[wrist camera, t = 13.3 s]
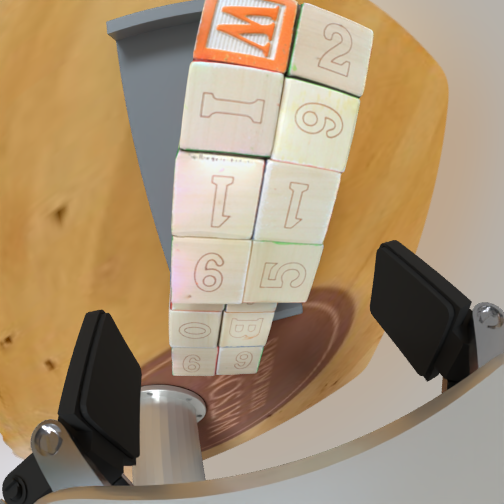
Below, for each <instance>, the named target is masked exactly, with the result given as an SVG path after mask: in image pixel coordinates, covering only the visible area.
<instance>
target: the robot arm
mask: <svg viewBox="0 0 504 504" xmlns="http://www.w3.org/2000/svg"><path fill="white" fill-rule="evenodd" d="M470 305H471V301H470V300H469V299H468V298H467V297H466V296H465V295H463V294H462V293H461V292H460V291H459V290H458V289H457V288H456V287H454V286H453V285H452V284H451V283H450V282H448V281H447V280H446V279H445V278H444V277H443V276H441V275H440V274H439V273H438V272H437V271H435V270H434V269H433V268H431V267H430V266H429V265H428V264H427V263H425V262H424V261H423V260H422V259H420V258H419V257H418V256H417V255H415V254H414V253H413V252H411V251H410V250H409V249H407V248H406V247H405V246H404V245H402V244H401V243H400V242H398V241H396V240H393V241H389V242H386V243H382V244H381V245H380V248H379V249H378V250H377V253H376V263H375V272H374V280H373V288H372V295H371V302H370V311H371V314H372V315H373V317H374V318H375V319H376V320H377V322H378V323H379V324H380V325H381V327H382V328H383V329H384V330H385V332H386V333H387V334H388V335H389V337H390V338H391V339H392V341H393V342H394V343H395V344H396V346H397V347H398V348H399V349H400V351H401V352H402V353H403V355H404V356H405V357H406V358H407V360H408V361H409V362H410V364H411V365H412V366H413V368H414V369H415V370H416V372H417V373H418V374H419V375H420V376H424V378H425V379H426V380H427V381H429V380H431V379H433V378H435V377H436V376H437V375H438V374H439V373H440V374H441V375H442V376H443V380H442V394H441V395H439V396H438V397H436V398H434V399H433V400H431V401H429V402H428V403H426V404H424V405H423V406H421V407H419V408H418V409H416V410H414V411H413V412H411V413H409V414H407V415H405V416H403V417H401V418H400V419H398V420H396V421H394V422H392V423H390V424H388V425H386V426H384V427H382V428H380V429H378V430H375V431H373V432H371V433H369V434H367V435H365V436H362V437H360V438H357V439H355V440H353V441H350V442H348V443H345V444H343V445H341V446H338V447H335V448H333V449H330V450H327V451H325V452H322V453H319V454H316V455H313V456H310V457H307V458H304V459H301V460H298V461H294V462H291V463H287V464H283V465H280V466H277V467H273V468H268V469H264V470H260V471H256V472H251V473H247V474H242V475H236V476H231V477H225V478H219V479H213V480H205V474H204V468H203V462H202V455H201V448H200V441H199V433H198V426H197V422H199V421H200V420H201V419H202V418H203V417H204V416H205V414H206V407H205V403H204V401H203V399H202V398H201V397H200V396H198V395H197V394H195V393H194V392H192V391H189V390H187V389H184V388H180V387H176V386H170V385H147V386H142V387H141V376H142V374H141V368H140V366H139V364H138V362H137V361H136V359H135V357H134V356H133V354H132V352H131V351H130V349H129V347H128V346H127V344H126V342H125V340H124V339H123V337H122V335H121V333H120V331H119V330H118V328H117V326H116V324H115V322H114V320H113V319H112V317H111V315H110V314H109V313H105V312H104V311H103V310H97V311H92V312H88V313H86V315H85V318H84V321H83V324H82V326H81V329H80V332H79V335H78V339H77V342H76V345H75V348H74V351H73V355H72V358H71V362H70V365H69V369H68V372H67V376H66V380H65V384H64V388H63V392H62V396H61V400H60V405H59V409H58V415H59V417H58V421H57V420H52V419H49V420H45V421H43V422H41V423H40V424H39V425H38V426H37V427H36V428H35V429H34V431H33V433H32V436H31V448H32V452H33V453H32V454H31V455H29V456H28V457H27V458H26V459H25V460H24V461H23V462H22V463H21V464H19V465H18V466H17V467H16V468H15V469H14V470H13V471H12V472H11V473H9V474H8V476H7V477H6V478H5V480H4V482H3V487H2V491H3V497H4V499H5V501H4V500H2V499H1V500H0V504H504V312H503V311H502V310H501V309H500V308H499V307H498V306H496V305H494V304H491V303H488V302H482V303H479V304H477V305H476V306H475V307H474V309H473V311H472V310H471V309H469V308H470ZM123 466H132V476H133V484H132V482H131V481H130V480H129V479H128V478H127V477H126V476H125V475H124V474H123V473H124V470H123Z"/></svg>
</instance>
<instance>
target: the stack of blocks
mask: <svg viewBox="0 0 504 504" xmlns="http://www.w3.org/2000/svg"><path fill="white" fill-rule="evenodd" d="M373 38H374V35H373V31H372V30H371V29H369V28H366V27H364V26H362V25H360V24H358V23H356V22H353V21H351V20H349V19H346V18H344V17H342V16H339V15H337V14H334V13H332V12H329V11H327V10H324V9H322V8H319V7H317V6H314V5H311V4H308V3H303V4H301V5H299V4H298V2H297V1H294V0H205V2H204V7H203V11H202V15H201V20H200V24H199V28H198V33H197V37H196V42H195V47H194V52H193V61H192V62H191V63H190V67H189V73H188V79H187V86H186V94H185V101H184V109H183V117H182V127H181V136H180V140H179V146H178V150H177V153H176V158H175V167H174V184H173V197H172V218H171V232H172V243H171V272H170V301H169V345H170V346H171V347H172V374H173V375H178V376H213V375H215V374H217V375H231V374H251V373H257V371H258V367H259V363H260V360H261V357H262V353H263V348H264V345H265V344H266V342H267V338H268V335H269V331H270V328H271V324H272V320H273V317H274V311H275V310H276V307H277V304H278V303H305V302H306V301H307V299H308V296H309V293H310V290H311V287H312V283H313V280H314V277H315V273H316V270H317V267H318V264H319V261H320V258H321V254H322V251H323V242H324V239H325V236H326V233H327V230H328V227H329V223H330V220H331V216H332V212H333V207H334V203H335V200H336V197H337V193H338V190H339V185H340V181H341V174H342V173H343V172H344V171H345V167H346V163H347V159H348V155H349V151H350V147H351V143H352V139H353V135H354V130H355V125H356V121H357V116H358V111H359V106H360V100H359V98H360V97H361V96H362V94H363V93H364V88H365V83H366V78H367V73H368V67H369V62H370V56H371V50H372V44H373Z"/></svg>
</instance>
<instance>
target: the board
mask: <svg viewBox="0 0 504 504" xmlns="http://www.w3.org/2000/svg"><path fill="white" fill-rule="evenodd" d="M204 2H205V0H193V1H187V2H181V3H175V4H170V5H165V6H161V7H156V8H152V9H148V10H144V11H140V12H137V13H133V14H130V15H126V16H123V17H120V18H117V19H113V20H110V21H108V22H106V24H107V34H108V35H109V36H111V37H112V38H113V39H114V40H116V43H117V51H118V58H119V65H120V72H121V78H122V84H123V90H124V96H125V101H126V107H127V112H128V117H129V122H130V127H131V131H132V136H133V141H134V145H135V149H136V154H137V158H138V162H139V166H140V170H141V174H142V178H143V182H144V186H145V190H146V194H147V197H148V201H149V204H150V208H151V212H152V215H153V219H154V222H155V225H156V229H157V232H158V235H159V239H160V242H161V245H162V248H163V251H164V254H165V258H166V261H167V264H168V267H169V270H170V272H171V243H172V232H171V218H172V197H173V184H174V167H175V158H176V153H177V150H178V146H179V140H180V136H181V127H182V117H183V109H184V101H185V94H186V86H187V79H188V73H189V67H190V63H191V62H192V61H193V52H194V47H195V42H196V37H197V33H198V28H199V24H200V20H201V15H202V11H203V7H204ZM301 313H303V312H302V304H301V303H278V304H277V307H276V310H275V311H274V317H273V320H272V321H274V320H278V319H282V318H286V317H290V316H293V315H297V314H301Z"/></svg>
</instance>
